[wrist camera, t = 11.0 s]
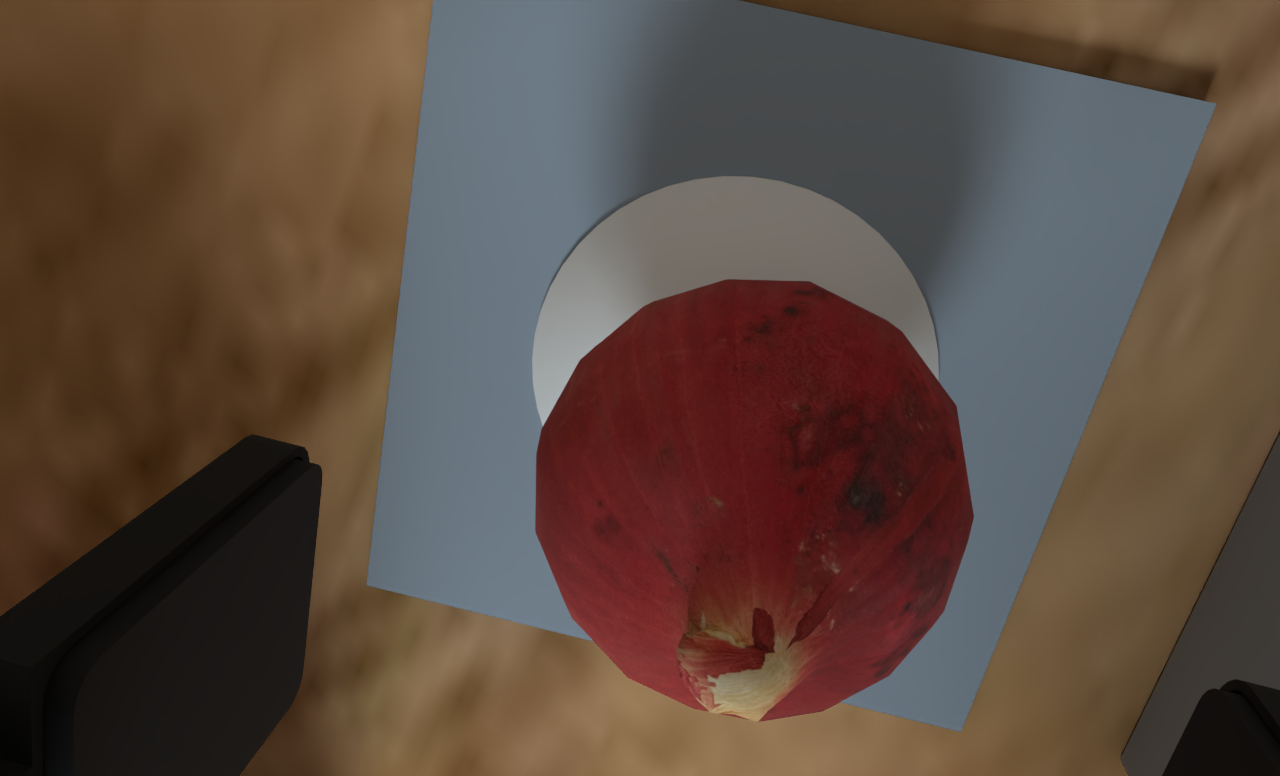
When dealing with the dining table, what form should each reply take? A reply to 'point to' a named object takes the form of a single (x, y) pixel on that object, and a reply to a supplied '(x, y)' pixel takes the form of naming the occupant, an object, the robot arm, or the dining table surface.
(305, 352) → the dining table surface
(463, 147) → the mat
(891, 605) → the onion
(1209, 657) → the low wall
